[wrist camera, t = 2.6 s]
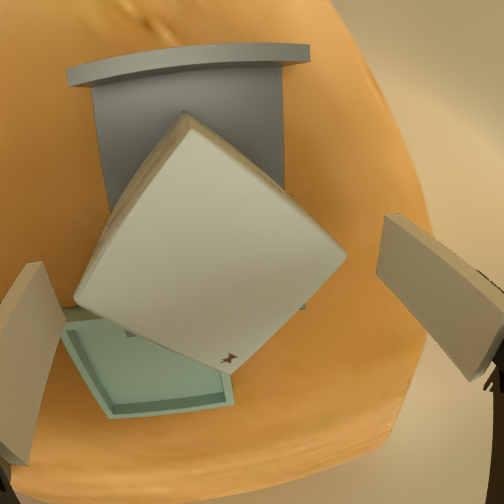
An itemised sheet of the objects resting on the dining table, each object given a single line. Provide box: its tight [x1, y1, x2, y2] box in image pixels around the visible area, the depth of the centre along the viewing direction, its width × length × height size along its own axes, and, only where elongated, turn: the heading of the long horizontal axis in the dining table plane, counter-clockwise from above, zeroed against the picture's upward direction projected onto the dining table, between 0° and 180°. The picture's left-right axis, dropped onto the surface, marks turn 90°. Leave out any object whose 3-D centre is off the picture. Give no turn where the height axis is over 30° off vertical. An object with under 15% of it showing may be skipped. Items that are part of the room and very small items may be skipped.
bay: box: [67, 43, 310, 338], centre depth 19 cm, size 12×17×5 cm
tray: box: [61, 306, 235, 419], centre depth 27 cm, size 14×14×2 cm
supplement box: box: [73, 110, 347, 375], centre depth 16 cm, size 7×7×13 cm
